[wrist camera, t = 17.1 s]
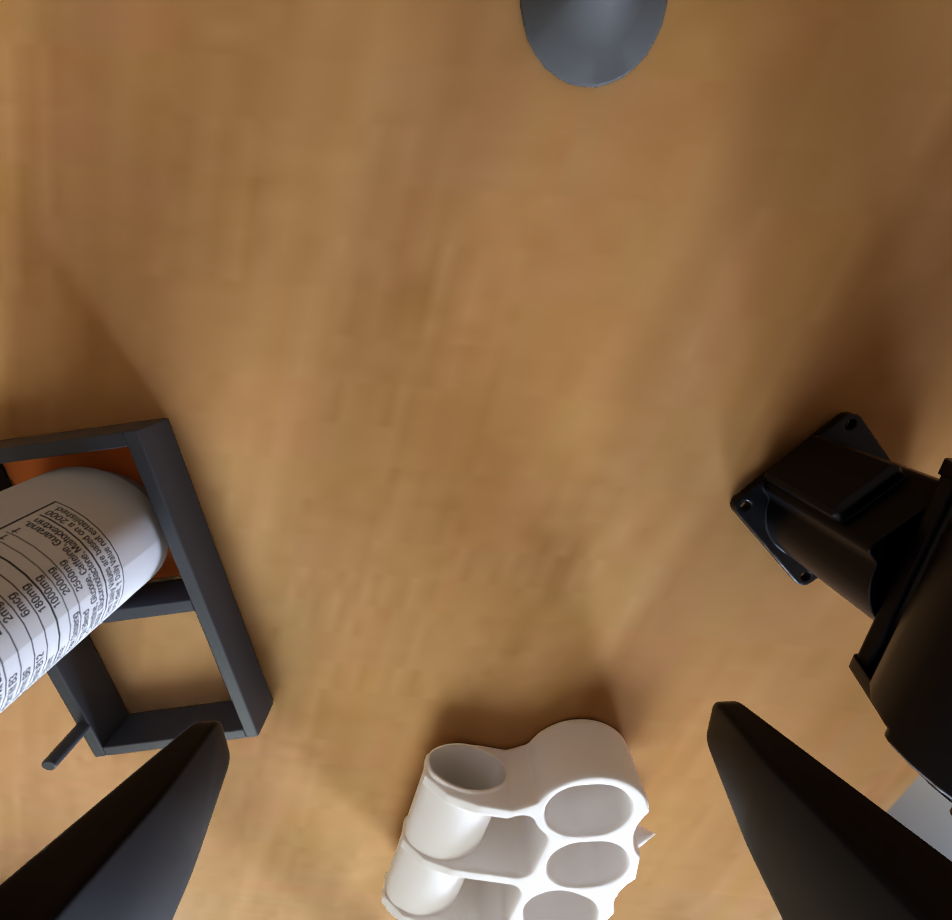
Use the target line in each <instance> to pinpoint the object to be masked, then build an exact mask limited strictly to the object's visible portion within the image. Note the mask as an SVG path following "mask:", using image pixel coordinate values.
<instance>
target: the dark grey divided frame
mask: <svg viewBox="0 0 952 920" xmlns="http://www.w3.org/2000/svg"><path fill="white" fill-rule="evenodd" d="M127 446H128V448H129V450H130V453H131V455H132V458H133V460H134V463H135V465H136V467H137V470H138V472H139V475H140V477H141V480H142V482H143V485H144V487H145V489H146V492H147V494H148V497H149V499H150V502H151V504H152V507H153V509H154V511H155V514H156V516H157V519H158V521H159V524H160V526H161V529H162V531H163V533H164V536H165V538H166V541H167V543H168V546H169V548H170V551H171V553H172V555H173V558H174V560H175V563H176V565H177V568H178V570H179V573H180V575H181V577H182V579H178V580H171V581H163V582H156V583H148V584H144V585H143V586H142V587H141V588H140V589H139V590H137V591H136V592H135V593H134V594H133V595H132V596H131V597H130V598H129V599H127V600H126V601H125V602H124V603H123V604H122V605H121V606H120V607H118V608H117V609H116V610H115V611H114V612H113V613H112V614H111V615H110V616H108V617H107V618H106V619H105V620H104V621H103V622H102V623H106V622H114V621H121V620H129V619H137V618H144V617H152V616H159V615H167V614H175V613H182V612H190V611H195V612H196V614H197V617H198V619H199V621H200V624H201V626H202V629H203V631H204V634H205V636H206V639H207V641H208V643H209V646H210V648H211V651H212V653H213V656H214V658H215V660H216V663H217V665H218V668H219V670H220V673H221V675H222V678H223V680H224V682H225V685H226V687H227V690H228V692H229V695H230V697H231V700H232V701H225V702H218V703H210V704H202V705H195V706H187V707H179V708H171V709H164V710H156V711H148V712H141V713H133V714H129V713H128V711H127V709H126V707H125V705H124V704H123V702H122V700H121V698H120V696H119V694H118V692H117V690H116V688H115V686H114V684H113V682H112V680H111V678H110V676H109V675H108V673H107V671H106V669H105V667H104V665H103V663H102V661H101V659H100V657H99V655H98V653H97V651H96V649H95V647H94V646H93V644H92V642H91V640H90V638H89V636H88V635H87V636H86V637H85V638H84V639H83V640H82V641H80V642H79V643H78V644H77V645H76V646H75V647H74V648H73V649H71V650H70V651H69V652H68V653H67V654H66V655H65V656H64V657H62V658H61V659H60V660H59V661H58V662H57V663H56V664H55V665H54V666H52V667H51V668H50V669H49V670H48V671H47V673H48V675H49V677H50V679H51V680H52V682H53V684H54V686H55V687H56V689H57V691H58V693H59V694H60V696H61V698H62V700H63V701H64V703H65V705H66V706H67V708H68V710H69V712H70V713H71V715H72V717H73V719H74V720H75V722H76V724H77V725H76V726H75V727H74V728H73V729H72V730H71V731H70V732H69V733H68V735H67V736H66V737H65V738H64V739H63V740H62V741H61V742H60V743H59V744H58V746H57V747H56V748H55V749H54V750H53V751H52V752H51V753H50V754H49V755H48V757H47V758H46V759H45V760H44V761H43V762H42V767H43V768H44V769H46V770H53V769H55V768H56V767H57V766H58V765H59V764H60V762H61V761H62V760H63V759H64V758H65V757H66V756H67V754H68V753H69V752H70V751H71V750H72V749H73V747H74V746H75V745H76V744H77V743H78V742H79V741H80V739H81V738H82V737H83V736H84V738H85V740H86V741H87V743H88V745H89V746H90V748H91V750H92V752H93V753H94V755H95V756H96V757H99V756H106V755H115V754H122V753H130V752H138V751H146V750H153V749H161V748H164V747H165V746H166V745H168V744H169V743H170V742H171V741H172V740H174V739H175V738H176V737H177V736H178V735H179V734H181V733H182V732H183V731H184V730H185V729H187V728H188V727H189V726H190V725H192V724H193V723H195V722H198V721H219V722H220V723H221V724H222V726H223V730H224V734H225V737H226V740H231V739H239V738H246V737H255V736H258V735H259V733H260V731H261V729H262V726H263V724H264V722H265V720H266V718H267V716H268V714H269V711H270V709H271V707H272V705H273V701H272V699H271V696H270V693H269V691H268V688H267V685H266V683H265V680H264V677H263V674H262V672H261V669H260V666H259V664H258V661H257V658H256V655H255V653H254V650H253V647H252V645H251V642H250V639H249V637H248V634H247V631H246V628H245V626H244V623H243V620H242V618H241V615H240V612H239V609H238V607H237V604H236V601H235V599H234V596H233V593H232V591H231V588H230V585H229V582H228V580H227V577H226V574H225V572H224V569H223V566H222V564H221V561H220V558H219V555H218V553H217V550H216V547H215V545H214V542H213V539H212V536H211V534H210V531H209V528H208V526H207V523H206V520H205V518H204V515H203V512H202V509H201V507H200V504H199V501H198V499H197V496H196V493H195V490H194V488H193V485H192V482H191V480H190V477H189V474H188V472H187V469H186V466H185V463H184V461H183V458H182V455H181V453H180V450H179V447H178V445H177V442H176V439H175V436H174V434H173V431H172V428H171V426H170V423H169V420H168V418H163V419H156V420H148V421H141V422H133V423H126V424H119V425H111V426H104V427H97V428H89V429H82V430H74V431H67V432H60V433H52V434H45V435H38V436H30V437H23V438H16V439H8V440H1V441H0V464H2V463H9V462H17V461H24V460H31V459H39V458H46V457H54V456H61V455H68V454H76V453H83V452H91V451H98V450H105V449H113V448H120V447H127ZM10 487H11V485H10V483H9V481H8V479H7V477H6V475H5V473H4V472H3V470H2V468H1V466H0V491H3V490H5V489H8V488H10ZM43 675H44V674H43ZM43 675H42V676H43ZM42 676H41V677H42ZM41 677H40V678H41ZM33 684H34V683H33ZM33 684H32V685H33ZM32 685H31V686H32ZM24 692H25V691H24ZM24 692H23V693H24ZM23 693H22V694H23ZM22 694H21V695H22ZM15 700H16V699H15ZM15 700H14V701H15ZM14 701H13V702H14Z"/></svg>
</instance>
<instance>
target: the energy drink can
mask: <svg viewBox="0 0 952 920" xmlns="http://www.w3.org/2000/svg"><path fill="white" fill-rule="evenodd" d="M167 549H168V543H167V541H166V538H165V536H164V533H163V531H162V529H161V526H160V524H159V521H158V519H157V516H156V514H155V511H154V509H153V507H152V504H151V502H150V499H149V497H148V494H147V492H146V489H145V487H143V486H142V485H140V484H139V483H137V482H136V481H134V480H132V479H130V478H128V477H126V476H123V475H120V474H117V473H113V472H108V471H102V470H99V469H95V468H89V467H81V466H76V467H63V468H59V469H55V470H51V471H49V472H46V473H44V474H42V475H39V476H37V477H34V478H32V479H29V480H27V481H25V482H22V483H20V484H17V485H15V486H12V487H10V488H8V489H5V490H3V491H0V713H1V712H2V711H3V710H4V709H5V708H7V707H8V706H9V705H10V704H11V703H12V702H13V701H14V700H15V699H17V698H18V697H19V696H20V695H21V694H22V693H23V692H24V691H26V690H27V689H28V688H29V687H30V686H31V685H32V684H33V683H35V682H36V681H37V680H38V679H39V678H40V677H41V676H42V675H43V674H45V673H46V672H47V671H48V670H49V669H50V668H51V667H52V666H54V665H55V664H56V663H57V662H58V661H59V660H60V659H61V658H62V657H64V656H65V655H66V654H67V653H68V652H69V651H70V650H71V649H73V648H74V647H75V646H76V645H77V644H78V643H79V642H80V641H82V640H83V639H84V638H85V637H86V636H87V635H88V634H89V633H90V632H92V631H93V630H94V629H95V628H96V627H97V626H98V625H99V624H101V623H102V622H103V621H104V620H105V619H106V618H107V617H108V616H110V615H111V614H112V613H113V612H114V611H115V610H116V609H117V608H118V607H120V606H121V605H122V604H123V603H124V602H125V601H126V600H127V599H129V598H130V597H131V596H132V595H133V594H134V593H135V592H136V591H137V590H139V589H140V588H141V587H142V586H143V585H144V584H145V583H146V582H148V581H149V580H150V579H151V578H152V577H153V576H154V575H155V574H156V573H157V572H158V571H159V569H160V568H161V567H162V565H163V563H164V561H165V558H166V556H167Z"/></svg>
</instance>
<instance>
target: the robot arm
mask: <svg viewBox="0 0 952 920" xmlns="http://www.w3.org/2000/svg"><path fill="white" fill-rule="evenodd" d="M847 421H849V423H848V425H847V426H846V427H845V423H846V422H847ZM938 474H940V475H941V477H940V479H938V478H935V477H933V476H930V475H927V474H925V473H922V472H919V471H916V470H914V469H911V468H908V467H905V466H903V465H900V464H897V463H894V462H892V461H891V460H890V459H889V458H888V456H887V455H886V453H885V452H884V450H883V449H882V447H881V446H880V445H879V443H878V442H877V440H876V439H875V437H874V436H873V434H872V433H871V431H870V430H869V429H868V427H867V426H866V424H865V423H864V421H863V420H862V418H861V417H860V416H859V415H857V414H853V413H850V412H843V413H840V414H839V415H837V416H836V417H835V418H833V419H832V420H831V421H829V422H828V423H827V424H826V425H824V426H823V427H822V428H821V429H819V430H818V431H817V432H815V433H814V434H813V435H812V436H810V437H809V438H808V439H806V440H805V441H804V442H803V443H801V444H800V445H799V446H797V447H796V448H795V449H794V450H792V451H791V452H790V453H789V454H787V455H786V456H785V457H783V458H782V459H781V460H780V461H778V462H777V463H776V464H774V465H773V466H772V467H771V468H769V469H768V470H767V471H766V472H764V473H763V474H762V475H760V476H759V477H758V478H757V479H755V480H754V481H753V482H751V483H750V484H749V485H748V486H746V487H745V488H744V489H742V490H741V491H740V492H739V493H737V494H736V495H735V496H734V497H733V498H732V500H731V502H730V506H731V508H732V510H733V511H734V512H735V513H736V514H737V516H738V517H739V518H740V519H741V520H742V521H743V523H744V524H745V525H746V526H747V527H748V528H749V530H750V531H751V532H752V533H753V534H754V535H755V536H756V538H757V539H758V540H759V541H760V542H761V543H762V545H763V546H764V547H765V548H766V549H767V550H768V552H769V553H770V554H771V555H772V556H773V557H774V559H775V560H776V561H777V562H778V563H779V564H780V565H781V567H782V568H783V569H784V570H785V571H786V572H787V574H788V575H789V576H790V577H791V578H792V579H793V580H794V581H796V582H797V583H798V584H800V585H807V584H809V583H811V582H812V581H814V580H815V579H817V578H819V579H820V580H822V581H823V582H824V583H826V584H827V585H828V586H829V587H831V588H832V589H833V590H835V591H836V592H837V593H839V594H840V595H841V596H843V597H844V598H845V599H846V600H848V601H849V602H850V603H852V604H853V605H854V606H856V607H857V608H858V609H860V610H861V611H862V612H864V613H865V614H866V615H867V616H869V617H870V618H871V619H873V620H874V621H873V623H872V625H871V627H870V630H869V632H868V634H867V636H866V638H865V640H864V642H863V645H862V647H861V649H860V651H859V653H858V654H854V656H853V658H852V660H851V663H850V665H849V668H850V669H851V671H852V672H853V674H854V676H855V677H856V679H857V680H858V682H859V684H860V685H861V687H862V688H863V690H864V691H865V693H866V695H867V696H868V698H869V699H870V701H871V702H872V704H873V706H874V707H875V709H876V710H877V712H878V714H879V715H880V717H881V719H882V720H883V722H884V724H885V725H886V726H887V730H886V732H885V737H886V739H887V740H888V742H889V743H890V744H891V746H892V747H893V748H894V749H895V750H896V751H897V752H898V753H899V754H900V755H901V756H902V757H903V758H904V760H905V761H906V762H907V763H908V764H909V765H910V766H911V767H912V768H913V769H914V770H916V771H917V772H918V773H919V774H920V775H921V776H922V777H923V778H924V779H925V780H926V781H927V782H928V783H929V784H930V785H931V786H932V787H934V788H935V789H936V790H937V791H938V792H939V793H941V794H942V795H943V796H944V797H945V798H947V799H948V800H949V801H950V802H952V458H945V459H944V461H943V463H942V466H941V468H940V470H939V472H938ZM744 501H746V504H745V505H744V506H742V507H740V506H741V504H742V503H743V502H744ZM803 573H804V574H803ZM802 574H803V575H802ZM801 575H802V576H801ZM707 742H708V746H709V749H710V752H711V755H712V757H713V760H714V762H715V765H716V768H717V770H718V773H719V775H720V778H721V780H722V783H723V786H724V788H725V791H726V793H727V796H728V798H729V801H730V804H731V806H732V809H733V811H734V814H735V816H736V819H737V822H738V824H739V827H740V829H741V832H742V834H743V837H744V839H745V841H746V844H747V846H748V848H749V850H750V853H751V855H752V857H753V859H754V861H755V863H756V865H757V867H758V869H759V871H760V874H761V876H762V878H763V880H764V882H765V884H766V886H767V888H768V890H769V892H770V894H771V896H772V898H773V900H774V902H775V904H776V906H777V908H778V910H779V912H780V914H781V917H782V919H783V920H952V862H951V861H950V860H949V859H947V858H946V857H945V856H944V855H942V854H941V853H940V852H938V851H937V850H936V849H934V848H933V847H932V846H930V845H929V844H928V843H926V842H925V841H923V840H922V839H921V838H920V837H918V836H917V835H916V834H914V833H913V832H912V831H910V830H909V829H908V828H906V827H905V826H903V825H902V824H901V823H900V822H898V821H897V820H896V819H894V818H893V817H892V816H890V815H889V814H887V813H886V812H885V811H884V810H882V809H881V808H880V807H878V806H877V805H876V804H874V803H873V802H872V801H870V800H869V799H868V798H866V797H865V796H864V795H862V794H861V793H860V792H858V791H857V790H856V789H854V788H853V787H852V786H850V785H849V784H848V783H846V782H845V781H844V780H842V779H841V778H840V777H838V776H837V775H836V774H834V773H833V772H832V771H830V770H829V769H828V768H826V767H825V766H824V765H822V764H821V763H820V762H818V761H817V760H816V759H814V758H813V757H812V756H810V755H809V754H808V753H806V752H805V751H804V750H802V749H801V748H800V747H798V746H797V745H796V744H794V743H793V742H792V741H790V740H789V739H788V738H787V737H785V736H784V735H783V734H781V733H780V732H779V731H777V730H776V729H775V728H773V727H772V726H771V725H769V724H768V723H767V722H765V721H764V720H763V719H761V718H760V717H759V716H757V715H756V714H755V713H753V712H752V711H751V710H749V709H748V708H747V707H745V706H744V705H742V704H741V703H739V702H736V701H726V702H716V703H715V704H714V705H713V708H712V713H711V717H710V722H709V726H708V731H707ZM229 758H230V754H229V749H228V745H227V741H226V737H225V734H224V730H223V726H222V724H221V723H220V722H219V721H198V722H195V723H193V724H192V725H190V726H189V727H188V728H187V729H185V730H184V731H183V732H182V733H181V734H179V735H178V736H177V737H176V738H175V739H174V740H172V741H171V742H170V743H169V744H168V745H166V746H165V747H164V748H163V749H162V750H160V751H159V752H158V753H157V754H156V755H154V756H153V757H152V758H151V759H150V760H149V761H147V762H146V763H145V764H144V765H143V766H141V767H140V768H139V769H138V770H137V771H135V772H134V773H133V774H132V775H131V776H130V777H128V778H127V779H126V780H125V781H124V782H122V783H121V784H120V785H119V786H118V787H116V788H115V789H114V790H113V791H112V792H110V793H109V794H108V795H107V796H106V797H105V798H103V799H102V800H101V801H100V802H99V803H97V804H96V805H95V806H94V807H93V808H91V809H90V810H89V811H88V812H87V813H85V814H84V815H83V816H82V817H81V818H80V819H78V820H77V821H76V822H75V823H74V824H72V825H71V826H70V827H69V828H68V829H66V830H65V831H64V832H63V833H62V834H60V835H59V836H58V837H57V838H56V839H55V840H53V841H52V842H51V843H50V844H49V845H47V846H46V847H45V848H44V849H43V850H41V851H40V852H39V853H38V854H37V855H35V856H34V857H33V858H32V859H31V860H30V861H28V862H27V863H26V864H25V865H24V866H22V867H21V868H20V869H19V870H18V871H16V872H15V873H14V874H13V875H12V876H11V877H9V878H8V879H7V880H6V881H5V882H3V883H2V884H1V885H0V920H172V919H173V917H174V914H175V912H176V910H177V907H178V905H179V903H180V900H181V898H182V896H183V894H184V891H185V889H186V886H187V884H188V881H189V879H190V877H191V874H192V872H193V869H194V866H195V863H196V861H197V858H198V855H199V852H200V849H201V846H202V843H203V840H204V837H205V834H206V831H207V828H208V825H209V822H210V820H211V817H212V814H213V811H214V808H215V805H216V802H217V799H218V796H219V793H220V790H221V787H222V784H223V781H224V778H225V775H226V772H227V769H228V765H229ZM950 814H951V815H952V808H951V809H950Z"/></svg>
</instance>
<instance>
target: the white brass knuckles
mask: <svg viewBox="0 0 952 920" xmlns="http://www.w3.org/2000/svg"><path fill="white" fill-rule="evenodd" d="M648 812H649V803H648V799H647V796H646V793H645V790H644V788H643V785H642V783H641V780H640V777H639V775H638V772H637V769H636V767H635V764H634V762H633V759H632V756H631V754H630V751H629V748H628V746H627V744H626V742H625V740H624V739H623V737H622V736H621V735H620V734H619V733H618V732H617V731H616V730H615V729H613V728H612V727H610V726H608V725H606V724H604V723H602V722H598V721H594V720H588V719H573V720H567V721H562V722H559V723H556V724H553V725H551V726H549V727H547V728H545V729H544V730H542V731H541V732H539V733H538V734H537V735H536V736H535V737H534V738H533V739H532V740H531V741H530V742H529V743H528V744H525V745H522V746H519V747H515V748H512V749H508V750H502V749H497V748H491V747H485V746H480V745H469V744H463V743H451V744H445V745H441V746H438V747H436V748H434V749H433V750H431V752H430V753H429V754H427V755H426V757H425V760H424V770H423V772H422V775H421V778H420V781H419V784H418V787H417V790H416V793H415V796H414V799H413V801H412V804H411V807H410V810H409V813H408V816H406V817H405V819H404V822H403V829H402V833H401V836H400V839H399V842H398V845H397V848H396V851H395V854H394V857H393V860H392V863H391V865H390V868H389V871H387V872H386V874H385V878H384V885H383V889H382V901H381V902H382V903H383V904H384V906H385V908H386V909H387V910H388V911H389V912H390V913H391V914H392V915H393V916H394V917H395V918H397V919H398V920H607V919H608V918H609V917H610V916H611V915H612V914H613V913H614V907H613V902H614V899H615V897H616V896H617V894H618V892H619V891H620V890H621V889H622V888H623V887H624V886H625V885H626V884H628V883H629V882H631V881H632V880H634V879H635V877H636V872H637V867H638V863H639V858H640V851H639V847H640V846H641V845H642V844H644V843H645V842H646V841H647V840H649V839H650V838H651V837H652V836H654V835H655V834H654V833H653V832H651V831H649V830H647V829H646V828H644V827H642V826H640V825H639V824H638V823H639V822H640V820H641V819H642V818H643V817H644V816H645V815H646V814H647V813H648Z"/></svg>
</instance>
